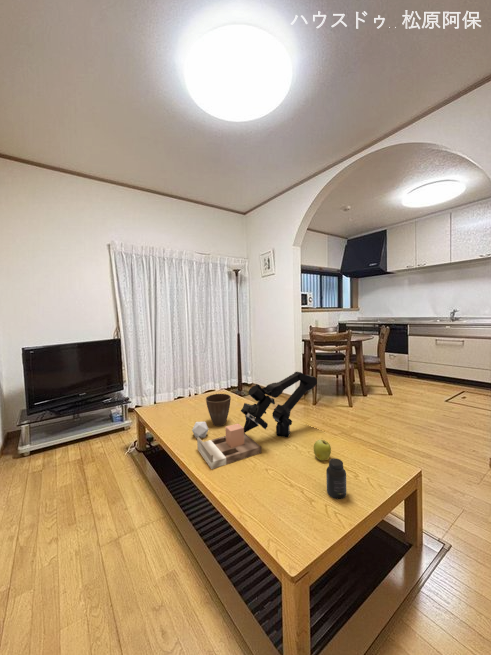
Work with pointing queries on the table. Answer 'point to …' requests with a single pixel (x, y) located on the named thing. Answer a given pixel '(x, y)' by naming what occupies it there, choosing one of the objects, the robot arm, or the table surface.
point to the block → (234, 435)
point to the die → (200, 429)
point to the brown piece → (226, 451)
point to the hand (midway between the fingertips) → (243, 432)
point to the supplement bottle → (336, 479)
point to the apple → (322, 449)
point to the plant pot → (218, 408)
